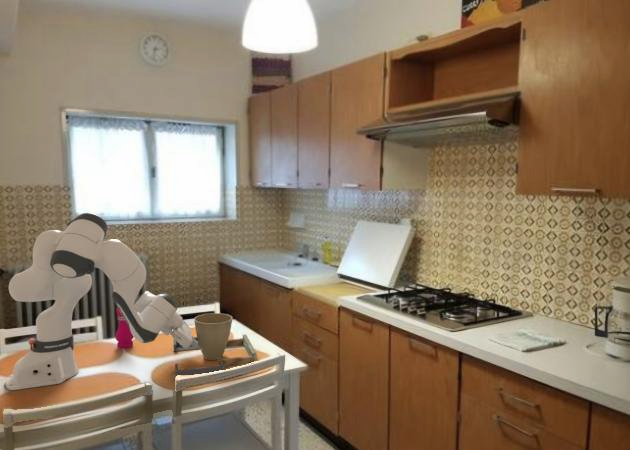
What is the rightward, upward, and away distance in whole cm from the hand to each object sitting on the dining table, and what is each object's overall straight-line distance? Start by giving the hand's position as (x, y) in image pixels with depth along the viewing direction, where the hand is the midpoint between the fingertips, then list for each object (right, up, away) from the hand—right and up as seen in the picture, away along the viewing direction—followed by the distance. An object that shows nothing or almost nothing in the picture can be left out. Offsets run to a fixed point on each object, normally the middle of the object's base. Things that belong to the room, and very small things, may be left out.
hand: (197, 345), depth 182 cm
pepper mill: (-35, -4, +15) cm, 38 cm away
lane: (+14, -5, +5) cm, 16 cm away
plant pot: (+6, -5, +2) cm, 8 cm away
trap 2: (+4, -6, -13) cm, 15 cm away
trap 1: (-5, -4, +14) cm, 16 cm away
